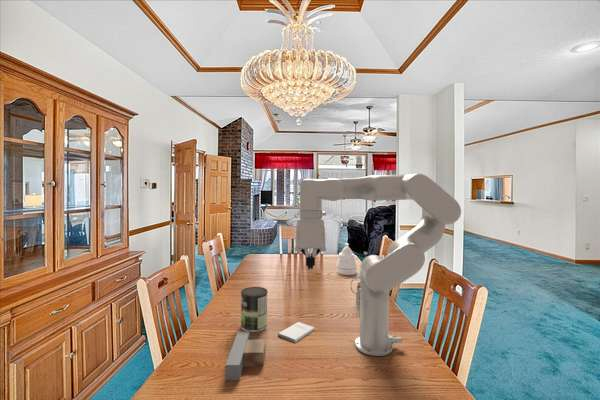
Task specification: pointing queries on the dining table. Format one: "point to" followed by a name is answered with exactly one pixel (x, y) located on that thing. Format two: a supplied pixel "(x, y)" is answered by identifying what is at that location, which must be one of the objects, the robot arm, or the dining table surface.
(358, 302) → the french press
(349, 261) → the honey pot
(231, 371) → the board
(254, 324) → the coffee can
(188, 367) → the dining table surface
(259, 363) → the walnut block
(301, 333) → the external hard drive
